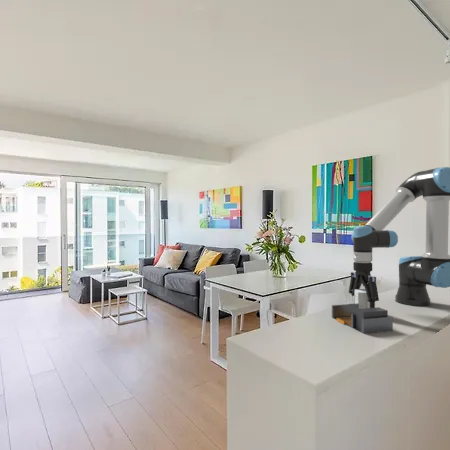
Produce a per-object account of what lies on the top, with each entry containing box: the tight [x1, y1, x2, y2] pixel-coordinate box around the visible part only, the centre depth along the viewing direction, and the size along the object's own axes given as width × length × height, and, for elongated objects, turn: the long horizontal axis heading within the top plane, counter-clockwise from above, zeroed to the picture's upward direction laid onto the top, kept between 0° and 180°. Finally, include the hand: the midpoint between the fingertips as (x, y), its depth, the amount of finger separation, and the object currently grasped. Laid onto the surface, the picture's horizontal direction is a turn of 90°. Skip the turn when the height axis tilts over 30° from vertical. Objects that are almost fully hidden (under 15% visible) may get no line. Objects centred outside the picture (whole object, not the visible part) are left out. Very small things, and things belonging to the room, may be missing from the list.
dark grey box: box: [356, 307, 389, 331], centre depth 116 cm, size 10×4×7 cm, turn 103°
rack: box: [331, 303, 394, 334], centre depth 122 cm, size 13×20×6 cm, turn 13°
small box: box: [354, 288, 372, 309], centre depth 137 cm, size 8×6×10 cm
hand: (363, 313), depth 137 cm, fingers closed on small box, 9 cm apart
